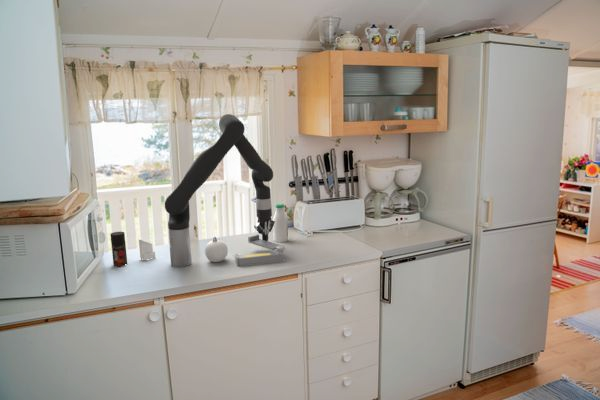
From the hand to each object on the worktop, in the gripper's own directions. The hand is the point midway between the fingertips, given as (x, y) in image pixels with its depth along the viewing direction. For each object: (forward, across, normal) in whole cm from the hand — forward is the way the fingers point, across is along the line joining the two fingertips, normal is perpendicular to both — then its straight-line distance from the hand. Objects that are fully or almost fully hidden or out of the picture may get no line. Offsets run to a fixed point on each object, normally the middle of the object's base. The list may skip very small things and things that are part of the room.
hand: (265, 241), depth 226 cm
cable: (+4, -16, -10) cm, 19 cm away
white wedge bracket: (+4, -43, +37) cm, 57 cm away
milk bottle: (+5, +16, +4) cm, 18 cm away
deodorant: (+4, -55, +40) cm, 68 cm away
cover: (0, -5, -6) cm, 8 cm away
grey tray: (+4, -12, -6) cm, 14 cm away
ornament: (+4, -26, +7) cm, 27 cm away
